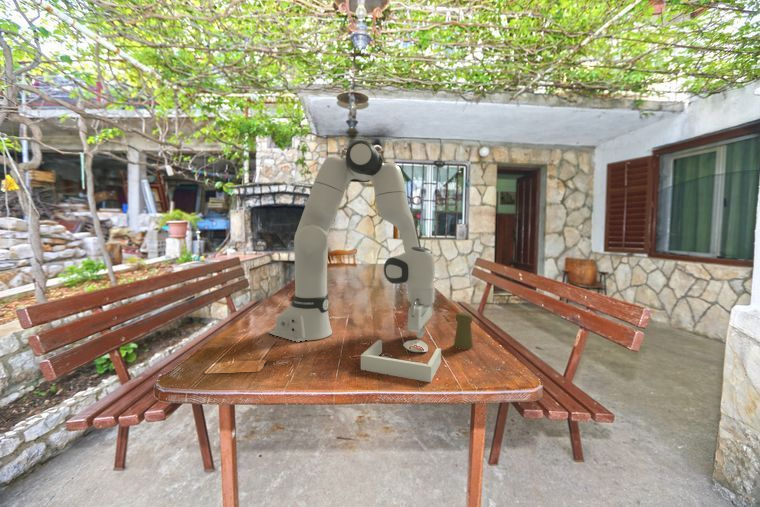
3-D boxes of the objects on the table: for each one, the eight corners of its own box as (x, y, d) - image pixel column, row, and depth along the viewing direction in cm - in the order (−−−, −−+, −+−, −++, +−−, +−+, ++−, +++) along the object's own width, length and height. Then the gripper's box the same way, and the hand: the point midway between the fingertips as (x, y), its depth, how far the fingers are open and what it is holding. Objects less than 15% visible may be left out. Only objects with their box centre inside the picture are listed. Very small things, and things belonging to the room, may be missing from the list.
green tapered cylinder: (473, 350, 101) (474, 316, 100) (454, 349, 102) (454, 314, 101) (472, 343, 107) (473, 310, 106) (453, 342, 108) (454, 309, 107)
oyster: (400, 354, 97) (401, 346, 97) (404, 343, 109) (405, 335, 109) (427, 358, 96) (427, 349, 96) (428, 346, 108) (428, 338, 107)
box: (360, 369, 88) (360, 355, 87) (378, 352, 100) (378, 339, 99) (430, 382, 81) (431, 366, 80) (440, 362, 93) (441, 348, 92)
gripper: (422, 304, 97) (422, 348, 98) (436, 291, 116) (435, 328, 117) (402, 302, 99) (402, 346, 101) (419, 289, 118) (418, 326, 120)
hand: (420, 336), depth 109 cm, fingers closed
